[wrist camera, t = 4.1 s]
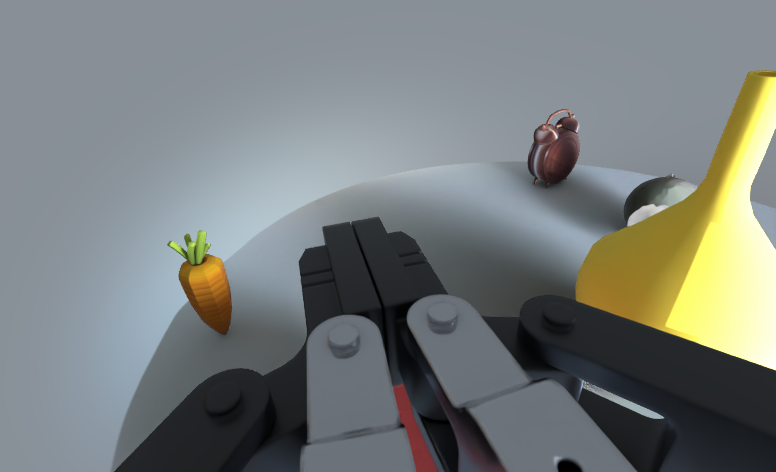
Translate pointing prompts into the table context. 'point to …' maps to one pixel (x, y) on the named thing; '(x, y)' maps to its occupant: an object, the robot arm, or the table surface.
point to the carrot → (205, 283)
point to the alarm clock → (554, 149)
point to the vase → (701, 249)
